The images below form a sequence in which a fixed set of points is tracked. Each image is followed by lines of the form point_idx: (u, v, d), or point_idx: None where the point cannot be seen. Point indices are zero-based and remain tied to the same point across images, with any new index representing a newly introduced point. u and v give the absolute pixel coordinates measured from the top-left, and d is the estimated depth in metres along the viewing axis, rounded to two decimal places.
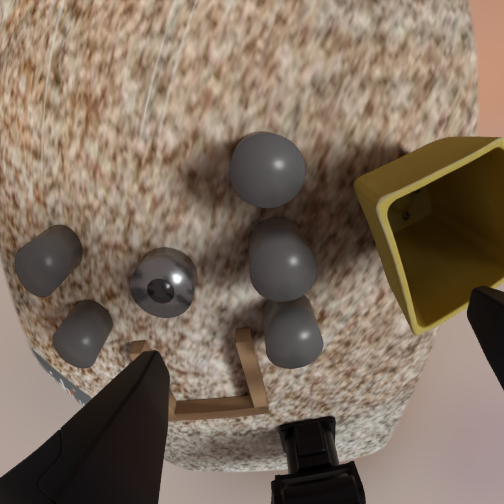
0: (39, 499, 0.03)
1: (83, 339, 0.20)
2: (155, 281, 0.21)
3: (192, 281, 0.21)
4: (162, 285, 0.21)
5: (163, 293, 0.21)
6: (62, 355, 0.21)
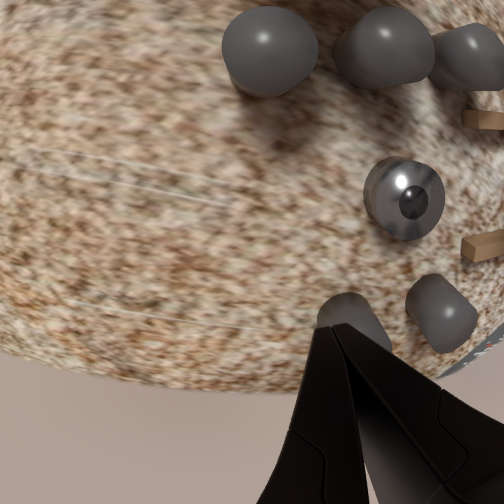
0: None
1: (448, 313, 0.16)
2: (402, 206, 0.16)
3: (406, 161, 0.15)
4: (407, 199, 0.16)
5: (417, 200, 0.16)
6: (457, 345, 0.17)
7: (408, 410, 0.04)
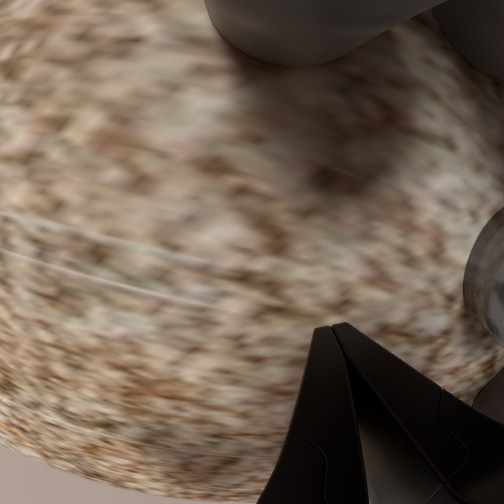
0: None
1: None
2: None
3: None
4: None
5: None
6: None
7: (408, 410, 0.04)
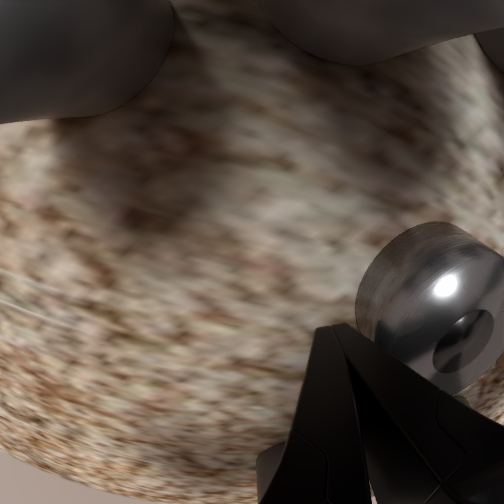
0: None
1: None
2: (439, 356, 0.06)
3: (463, 251, 0.06)
4: (453, 340, 0.06)
5: (471, 335, 0.06)
6: None
7: (406, 410, 0.04)
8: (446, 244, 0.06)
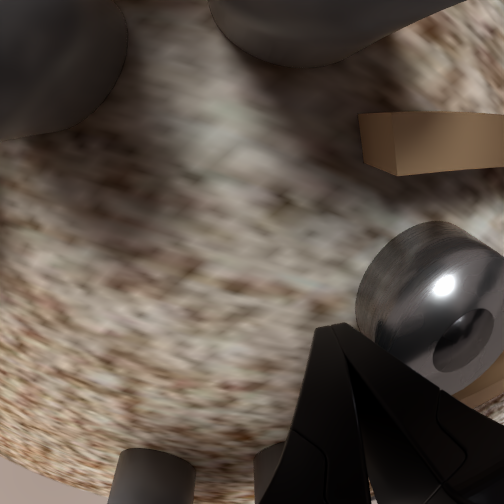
0: None
1: None
2: (439, 355, 0.06)
3: (463, 251, 0.06)
4: (453, 339, 0.06)
5: (471, 334, 0.06)
6: None
7: (407, 411, 0.04)
8: (445, 243, 0.06)
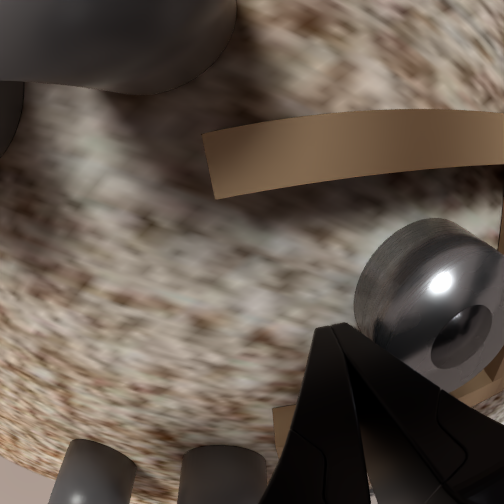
0: None
1: None
2: (437, 352, 0.06)
3: (459, 247, 0.06)
4: (451, 336, 0.06)
5: (469, 331, 0.06)
6: None
7: (407, 410, 0.04)
8: (441, 241, 0.06)
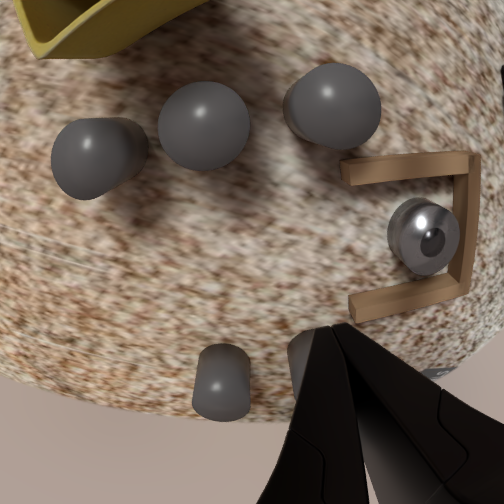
0: None
1: None
2: (423, 247, 0.17)
3: (426, 205, 0.17)
4: (427, 240, 0.17)
5: (435, 240, 0.17)
6: None
7: (408, 410, 0.04)
8: (420, 204, 0.17)
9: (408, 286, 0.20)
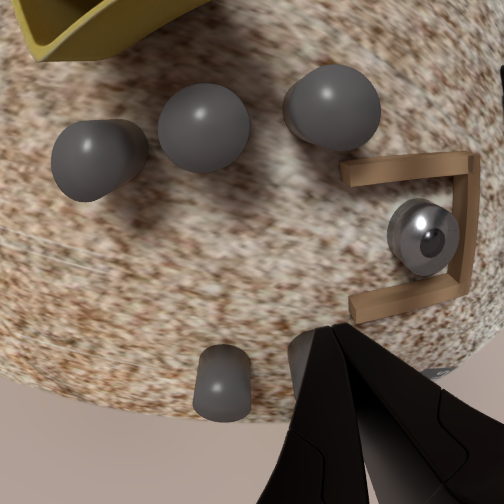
0: None
1: None
2: (422, 247, 0.17)
3: (426, 206, 0.17)
4: (427, 241, 0.17)
5: (435, 240, 0.17)
6: None
7: (408, 410, 0.04)
8: (419, 204, 0.17)
9: (408, 286, 0.21)
